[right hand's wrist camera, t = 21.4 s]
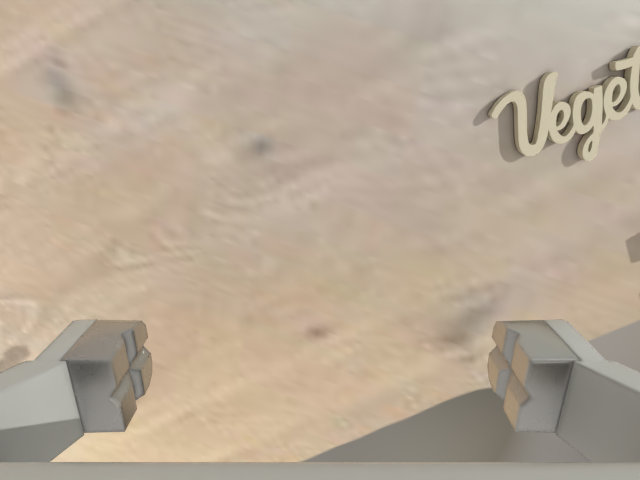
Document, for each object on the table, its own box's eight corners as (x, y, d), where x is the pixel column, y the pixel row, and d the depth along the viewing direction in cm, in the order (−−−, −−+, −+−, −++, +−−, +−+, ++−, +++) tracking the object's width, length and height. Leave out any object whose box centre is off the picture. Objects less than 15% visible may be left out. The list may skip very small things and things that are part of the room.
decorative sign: (515, 192, 46) (487, 102, 43) (511, 189, 47) (483, 101, 44) (782, 80, 42) (774, -29, 39) (772, 80, 43) (763, -27, 40)
